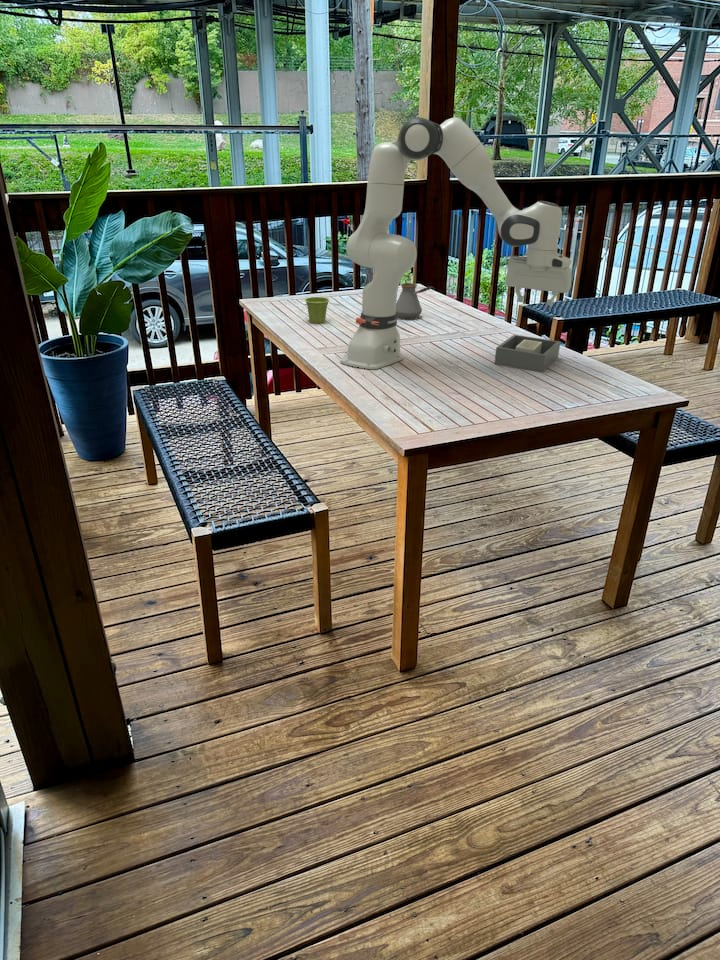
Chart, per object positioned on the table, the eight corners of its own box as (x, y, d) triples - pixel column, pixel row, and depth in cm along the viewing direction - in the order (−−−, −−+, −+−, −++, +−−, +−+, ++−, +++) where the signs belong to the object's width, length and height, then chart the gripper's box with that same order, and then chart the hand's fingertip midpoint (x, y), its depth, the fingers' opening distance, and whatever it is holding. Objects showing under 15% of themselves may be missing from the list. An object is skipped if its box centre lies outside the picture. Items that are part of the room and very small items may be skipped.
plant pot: (333, 322, 256) (333, 300, 252) (313, 326, 252) (312, 303, 247) (321, 317, 263) (321, 295, 259) (301, 320, 258) (300, 298, 254)
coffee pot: (388, 315, 268) (389, 278, 261) (411, 312, 273) (412, 275, 266) (418, 327, 252) (420, 288, 245) (441, 324, 257) (444, 285, 250)
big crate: (542, 373, 206) (545, 355, 204) (494, 365, 213) (496, 347, 211) (557, 359, 220) (560, 341, 217) (512, 351, 227) (514, 334, 224)
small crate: (531, 364, 211) (534, 349, 209) (513, 361, 214) (515, 346, 211) (539, 356, 219) (542, 342, 217) (522, 353, 221) (524, 339, 219)
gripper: (505, 256, 203) (499, 301, 209) (571, 263, 194) (563, 309, 200) (511, 253, 208) (506, 297, 214) (576, 260, 199) (568, 306, 205)
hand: (534, 303), depth 207 cm, fingers open, 8 cm apart
